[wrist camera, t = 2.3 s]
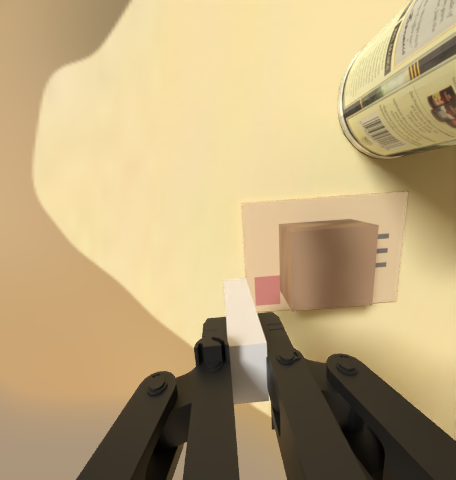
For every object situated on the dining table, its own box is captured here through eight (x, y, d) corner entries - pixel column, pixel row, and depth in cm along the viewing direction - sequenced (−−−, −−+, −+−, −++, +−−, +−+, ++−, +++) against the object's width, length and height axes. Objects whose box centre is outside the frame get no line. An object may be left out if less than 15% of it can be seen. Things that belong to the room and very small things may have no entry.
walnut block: (350, 218, 22) (378, 225, 18) (346, 285, 23) (372, 304, 19) (278, 224, 22) (291, 231, 18) (280, 290, 23) (291, 311, 19)
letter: (405, 191, 21) (408, 191, 21) (394, 299, 24) (396, 301, 24) (241, 202, 21) (241, 203, 21) (247, 311, 24) (247, 312, 23)
